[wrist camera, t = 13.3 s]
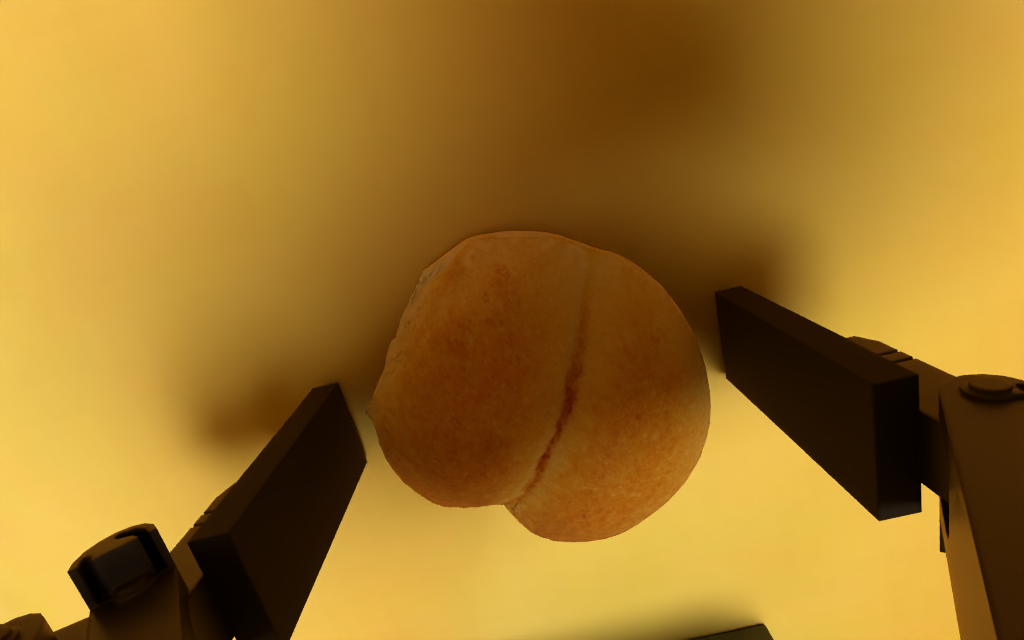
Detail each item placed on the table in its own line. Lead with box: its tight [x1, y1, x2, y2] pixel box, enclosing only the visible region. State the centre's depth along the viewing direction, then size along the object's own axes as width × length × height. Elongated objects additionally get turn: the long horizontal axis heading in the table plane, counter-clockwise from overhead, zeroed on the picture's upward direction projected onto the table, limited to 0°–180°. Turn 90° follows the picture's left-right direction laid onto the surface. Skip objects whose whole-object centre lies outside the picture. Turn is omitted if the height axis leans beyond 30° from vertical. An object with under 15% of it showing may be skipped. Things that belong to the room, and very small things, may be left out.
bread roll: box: [366, 231, 711, 542], centre depth 14 cm, size 8×9×4 cm
